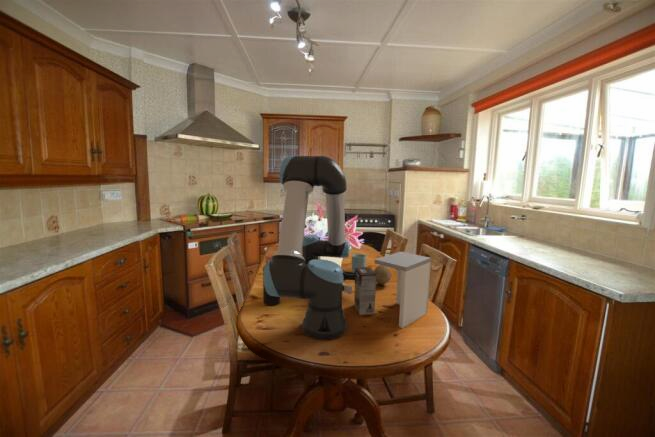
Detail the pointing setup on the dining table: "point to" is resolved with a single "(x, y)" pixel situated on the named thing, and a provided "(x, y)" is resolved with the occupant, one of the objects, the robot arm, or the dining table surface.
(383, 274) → the natural sponge
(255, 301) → the dining table surface
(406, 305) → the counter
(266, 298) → the bottle
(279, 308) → the dining table surface
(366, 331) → the dining table surface
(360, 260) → the cup
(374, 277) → the coffee box
